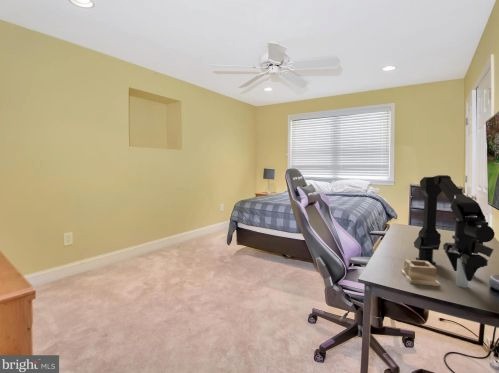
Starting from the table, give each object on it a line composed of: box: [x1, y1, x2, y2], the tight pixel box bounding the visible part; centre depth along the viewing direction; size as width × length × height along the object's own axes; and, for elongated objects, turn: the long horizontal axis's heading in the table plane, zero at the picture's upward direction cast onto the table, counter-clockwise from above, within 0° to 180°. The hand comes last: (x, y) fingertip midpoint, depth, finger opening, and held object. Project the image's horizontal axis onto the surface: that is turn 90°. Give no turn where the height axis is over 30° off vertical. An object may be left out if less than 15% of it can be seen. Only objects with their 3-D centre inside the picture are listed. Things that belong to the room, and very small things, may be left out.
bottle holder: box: [400, 259, 441, 287], centre depth 109 cm, size 12×10×6 cm
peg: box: [455, 258, 469, 289], centre depth 102 cm, size 4×4×10 cm
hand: (462, 275), depth 103 cm, fingers open, 9 cm apart
